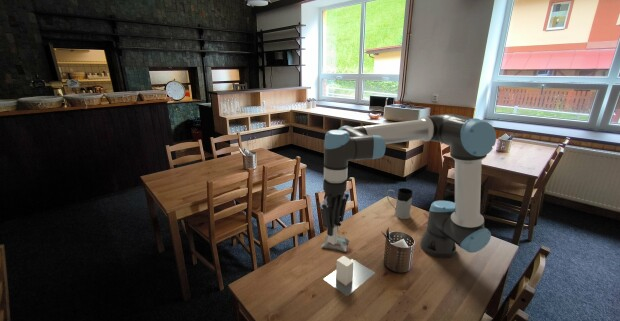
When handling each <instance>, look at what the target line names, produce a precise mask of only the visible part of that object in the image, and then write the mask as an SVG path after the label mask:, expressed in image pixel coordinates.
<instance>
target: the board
mask: <svg viewBox="0 0 620 321" xmlns="http://www.w3.org/2000/svg"><path fill="white" fill-rule="evenodd" d="M350 260H352V261H353V262H354V265H353V279H352V282H351V283H349V284H348V285H347V286H345V285H343V284H342V283H340V282H339V281H337V280H336V269H335V270H334V271H332V272H331V273H330V274H328V275H327V276H326V277H324V278H323V280H324V281H325V282H327V284H329V285H331V286H332V287H333V288H335V289H336V290H338V291H339V292H340V293H341V294H343V295H345V297H348V296H350V294H352V293H353V292H354V291H356V290H357V289H358V288H359V287H360V286H362V285H363V284H365V282H366V281H367V280H369V279H370V278H371V277H372V276H374V275H375V274H376V272H375V271H373V270H371V269H370V268H368V267H367V266H364V265H363V264H362V263H360V262H358V261H357V260H355V259H353V258H351V259H350Z"/></svg>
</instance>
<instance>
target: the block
mask: <svg viewBox="0 0 620 321" xmlns="http://www.w3.org/2000/svg"><path fill="white" fill-rule="evenodd" d="M353 265H354V262H353V261H352V260H351V259H350V258H348V257H347V256H345V255H342V256H341V257H339V258H338V259H336V269H335V270H336V280H337V281H339V282H340V283H342V284H343V285H345V286H347V285H348V284H349V283H351V282H352V279H353Z"/></svg>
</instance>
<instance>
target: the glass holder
mask: <svg viewBox="0 0 620 321" xmlns="http://www.w3.org/2000/svg"><path fill="white" fill-rule="evenodd" d="M390 191H391V192H393V196H394V198H395V199H396V205H393V203H392V202H391V201H390V198H389V192H390ZM386 196H387V201H388V202H389V204H390V205H391V206H392V208H394V211H395V212H394V216H395V218H399V219H401V220H408V219H410V218H411V208H412V201H413V190H412V189H410V188H403V187H402V188H399V189H398V191H397V197H396V192H395V191H394V190H393V189H389V190H387V193H386Z"/></svg>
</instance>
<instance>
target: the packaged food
mask: <svg viewBox="0 0 620 321" xmlns="http://www.w3.org/2000/svg"><path fill="white" fill-rule="evenodd" d="M349 243H350V240H349V239H348V238H346V237H345V236H341V235H340V236H338V235H337V243H335V244H334V245H333V244H332V243H330V242H328V234H327V235H326V236H325V241H324V243H322V245H321V246H320V248H325V249H332V250H337V251H339V252H340V251H341V252H347V248H348V246H347V244H349Z"/></svg>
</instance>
